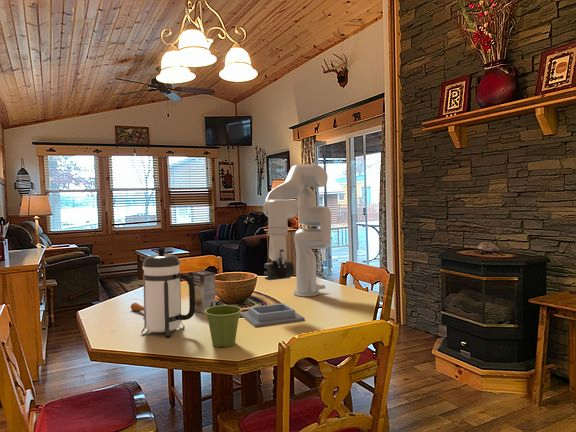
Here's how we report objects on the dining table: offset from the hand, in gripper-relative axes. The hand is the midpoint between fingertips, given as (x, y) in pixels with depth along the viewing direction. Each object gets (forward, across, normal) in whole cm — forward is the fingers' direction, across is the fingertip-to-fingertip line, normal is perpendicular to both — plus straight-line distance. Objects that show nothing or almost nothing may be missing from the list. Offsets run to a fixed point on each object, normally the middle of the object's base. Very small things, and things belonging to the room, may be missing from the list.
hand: (278, 275), depth 171 cm
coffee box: (+16, -19, -28) cm, 37 cm away
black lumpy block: (+2, 0, 0) cm, 2 cm away
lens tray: (+16, 0, -3) cm, 17 cm away
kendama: (+17, -20, -51) cm, 57 cm away
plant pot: (+17, +25, -25) cm, 39 cm away
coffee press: (+17, +6, -43) cm, 46 cm away
